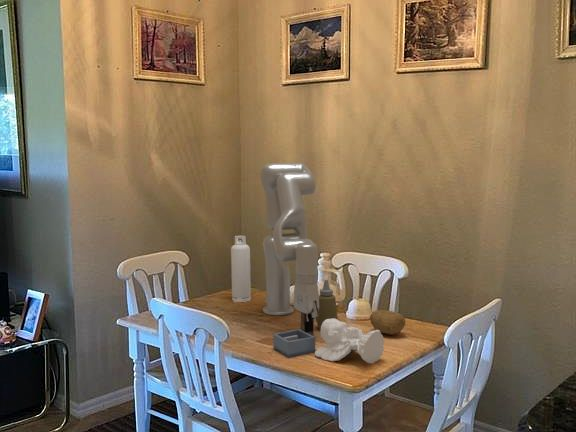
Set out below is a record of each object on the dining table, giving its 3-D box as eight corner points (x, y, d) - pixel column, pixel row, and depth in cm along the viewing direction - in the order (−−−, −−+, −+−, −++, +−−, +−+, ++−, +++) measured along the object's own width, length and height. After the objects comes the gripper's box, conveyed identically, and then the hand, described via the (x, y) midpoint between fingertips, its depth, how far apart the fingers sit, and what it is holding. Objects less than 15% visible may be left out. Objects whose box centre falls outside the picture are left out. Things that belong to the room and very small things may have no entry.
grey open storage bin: (273, 348, 199) (273, 334, 199) (299, 343, 204) (299, 329, 204) (288, 357, 191) (288, 342, 190) (315, 352, 196) (315, 337, 195)
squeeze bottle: (336, 332, 216) (336, 283, 214) (313, 331, 217) (313, 282, 215) (338, 325, 224) (338, 278, 222) (317, 324, 225) (316, 277, 223)
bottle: (230, 302, 258) (228, 237, 255) (234, 297, 266) (233, 234, 263) (248, 302, 257) (247, 237, 254) (252, 298, 265) (251, 235, 262)
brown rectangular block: (300, 338, 209) (300, 310, 208) (310, 336, 211) (310, 308, 210) (303, 340, 208) (303, 311, 206) (313, 338, 209) (313, 310, 208)
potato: (381, 326, 223) (381, 305, 222) (411, 335, 212) (411, 313, 211) (362, 331, 217) (362, 309, 216) (392, 341, 206) (392, 318, 205)
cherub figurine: (361, 338, 177) (309, 318, 190) (358, 377, 180) (307, 355, 193) (386, 326, 186) (335, 308, 200) (383, 364, 189) (333, 343, 202)
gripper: (285, 275, 212) (286, 326, 214) (309, 284, 198) (310, 339, 200) (304, 273, 215) (304, 323, 218) (328, 281, 202) (328, 335, 204)
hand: (307, 330), depth 209 cm, fingers closed on brown rectangular block, 1 cm apart
